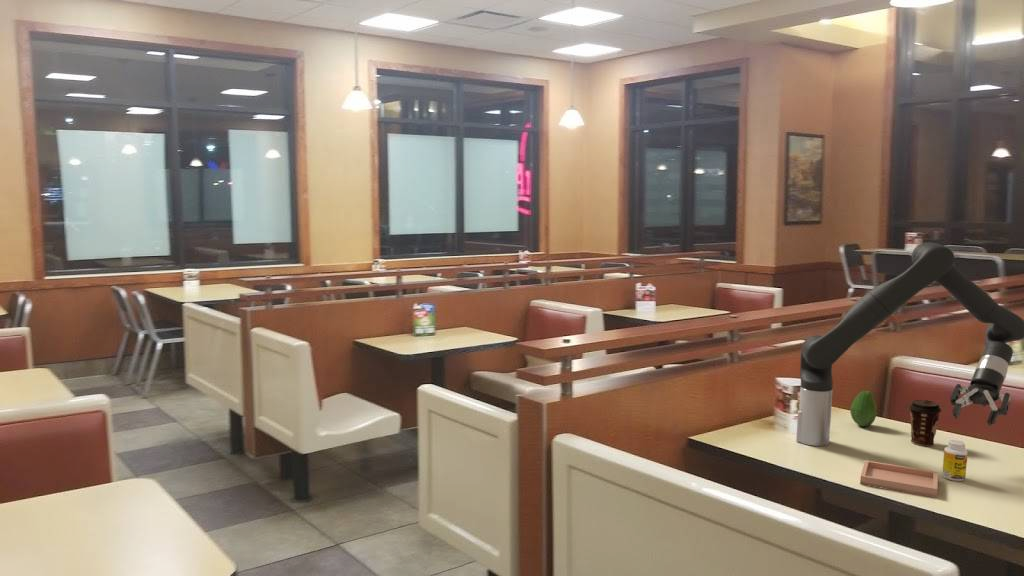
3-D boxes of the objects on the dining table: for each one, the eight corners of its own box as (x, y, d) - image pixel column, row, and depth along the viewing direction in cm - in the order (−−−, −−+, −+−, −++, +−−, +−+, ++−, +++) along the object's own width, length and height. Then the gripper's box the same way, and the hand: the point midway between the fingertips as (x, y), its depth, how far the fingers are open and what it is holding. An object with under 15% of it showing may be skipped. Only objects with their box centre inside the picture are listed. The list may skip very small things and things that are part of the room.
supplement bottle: (952, 482, 207) (956, 446, 206) (937, 475, 212) (940, 439, 211) (970, 481, 208) (973, 444, 207) (954, 473, 214) (957, 438, 212)
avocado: (878, 425, 257) (880, 390, 256) (872, 430, 251) (874, 395, 250) (852, 420, 262) (855, 386, 261) (846, 426, 256) (848, 391, 254)
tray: (860, 484, 205) (860, 476, 205) (864, 467, 217) (865, 460, 217) (936, 497, 197) (937, 489, 196) (936, 479, 209) (937, 471, 208)
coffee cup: (931, 439, 243) (934, 399, 241) (943, 448, 235) (946, 407, 233) (902, 438, 244) (905, 398, 242) (913, 447, 236) (916, 405, 234)
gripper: (960, 362, 225) (942, 407, 219) (1016, 371, 214) (998, 419, 208) (965, 377, 229) (947, 421, 223) (1020, 386, 218) (1003, 433, 212)
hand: (972, 420), depth 216 cm, fingers open, 8 cm apart
